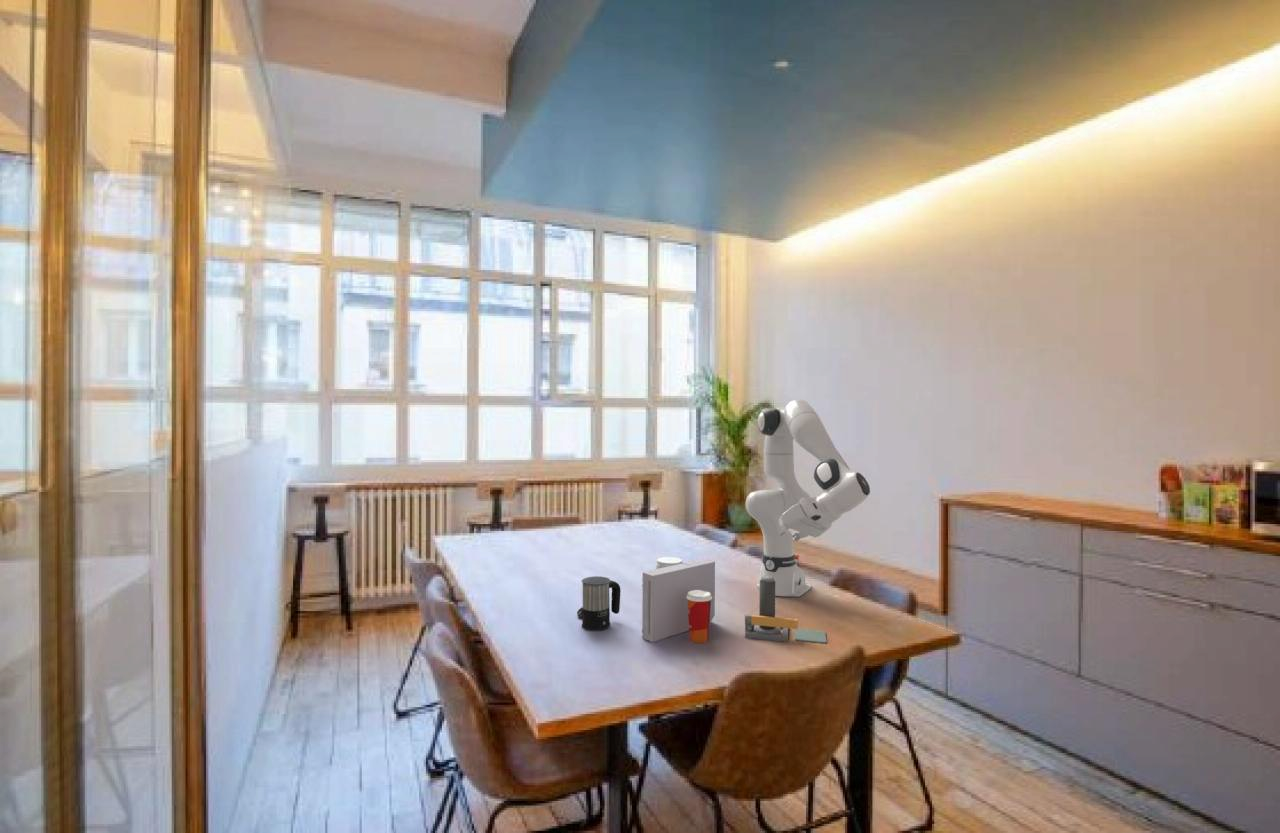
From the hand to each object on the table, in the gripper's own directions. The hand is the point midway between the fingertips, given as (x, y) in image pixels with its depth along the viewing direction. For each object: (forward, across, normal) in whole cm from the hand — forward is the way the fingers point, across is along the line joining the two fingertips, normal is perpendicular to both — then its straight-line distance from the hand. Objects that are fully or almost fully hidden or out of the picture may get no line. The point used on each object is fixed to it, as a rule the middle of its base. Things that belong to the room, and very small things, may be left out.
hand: (786, 535), depth 189 cm
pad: (+12, -10, +27) cm, 31 cm away
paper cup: (+34, +16, +19) cm, 42 cm away
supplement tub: (+54, -4, -7) cm, 55 cm away
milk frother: (+62, +29, 0) cm, 69 cm away
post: (+25, +2, +20) cm, 32 cm away
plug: (+22, -3, +21) cm, 30 cm away
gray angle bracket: (+22, -3, +21) cm, 30 cm away
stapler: (+18, 0, +21) cm, 28 cm away
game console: (+41, +14, +12) cm, 45 cm away
